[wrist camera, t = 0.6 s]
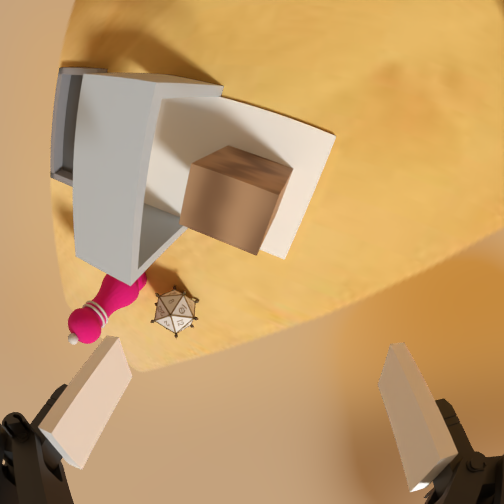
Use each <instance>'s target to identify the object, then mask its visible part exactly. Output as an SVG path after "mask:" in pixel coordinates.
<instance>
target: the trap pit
mask: <svg viewBox="0 0 504 504" xmlns="http://www.w3.org/2000/svg"><path fill="white" fill-rule="evenodd" d="M90 73H107V69H101V68H84V67H62V68H59V73H58V79H57V86H56V93H55V101H54V110H53V121H52V135H51V178H53V179H55V180H58V181H60V182H62V183H65V184H67V185H69V186H72V187H73V160H74V143H75V131H76V121H77V112H78V105H79V98H80V91H81V85H82V79H83V74H90Z"/></svg>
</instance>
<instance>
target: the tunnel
mask: <svg viewBox="0 0 504 504" xmlns="http://www.w3.org/2000/svg"><path fill="white" fill-rule="evenodd" d="M223 88H224V86H221V85H216V84H212V83H208V82H203V81H199V80H194V79H189V78H184V77H178V76H173V75H167V74H152V73H90V74H83V79H82V85H81V91H80V98H79V105H78V112H77V121H76V131H75V143H74V160H73V222H74V239H75V251H76V257H78V258H80V259H82V260H83V261H85V262H87V263H89V264H90V265H92V266H94V267H96V268H98V269H99V270H101V271H103V272H105V273H107V274H109V275H110V276H112V277H114V278H116V279H118V280H120V281H122V282H124V283H126V284H128V285H129V286H131V285H132V284H133V283H134V282H135V281H136V280H137V279H138V278H139V277H140V276H141V275H142V274H143V273H144V272H145V271H146V270H147V269H148V268H149V266H150V265H151V264H152V263H153V262H154V261H155V260H156V259H157V258H158V257H159V256H160V255H161V254H162V253H163V252H164V251H165V250H166V249H167V248H168V247H169V246H170V245H171V244H172V243H173V242H174V241H175V240H176V239H177V238H178V237H179V236H180V235H181V234H182V233H183V232H184V231H185V230H186V229H187V228H188V227H185V226H183V225H180V224H179V221H180V215H181V210H182V205H183V200H184V195H185V190H186V185H187V180H188V176H189V171H190V167H191V163H193V162H195V161H197V160H199V159H201V158H203V157H205V156H207V155H209V154H211V153H213V152H215V151H217V150H219V149H222V148H224V147H226V146H228V145H229V146H232V147H235V148H238V149H241V150H243V151H246V152H249V153H252V154H255V155H258V156H261V157H263V158H266V159H269V160H272V161H274V162H277V163H280V164H282V165H285V166H287V167H290V168H293V171H292V174H291V177H290V179H289V182H288V185H287V187H286V190H285V193H284V195H283V198H282V201H281V203H280V206H279V209H278V211H277V214H276V216H275V218H274V220H273V222H272V225H271V227H270V229H269V231H268V233H267V235H266V237H265V239H264V241H263V243H262V245H261V247H260V250H262V251H265V252H267V253H270V254H272V255H275V256H277V257H280V258H282V259H284V260H285V258H286V255H287V253H288V251H289V249H290V246H291V244H292V242H293V239H294V237H295V235H296V232H297V230H298V228H299V225H300V223H301V221H302V218H303V216H304V214H305V211H306V209H307V207H308V204H309V202H310V200H311V197H312V195H313V192H314V190H315V188H316V185H317V183H318V180H319V178H320V176H321V173H322V171H323V168H324V166H325V163H326V161H327V158H328V156H329V153H330V151H331V148H332V146H333V143H334V141H335V138H336V136H335V135H333V134H330V133H328V132H325V131H323V130H321V129H318V128H315V127H313V126H310V125H308V124H305V123H302V122H300V121H297V120H294V119H291V118H289V117H286V116H283V115H280V114H277V113H274V112H271V111H268V110H265V109H262V108H258V107H255V106H252V105H249V104H245V103H242V102H238V101H235V100H231V99H227V98H224V97H221V94H222V91H223Z"/></svg>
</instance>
